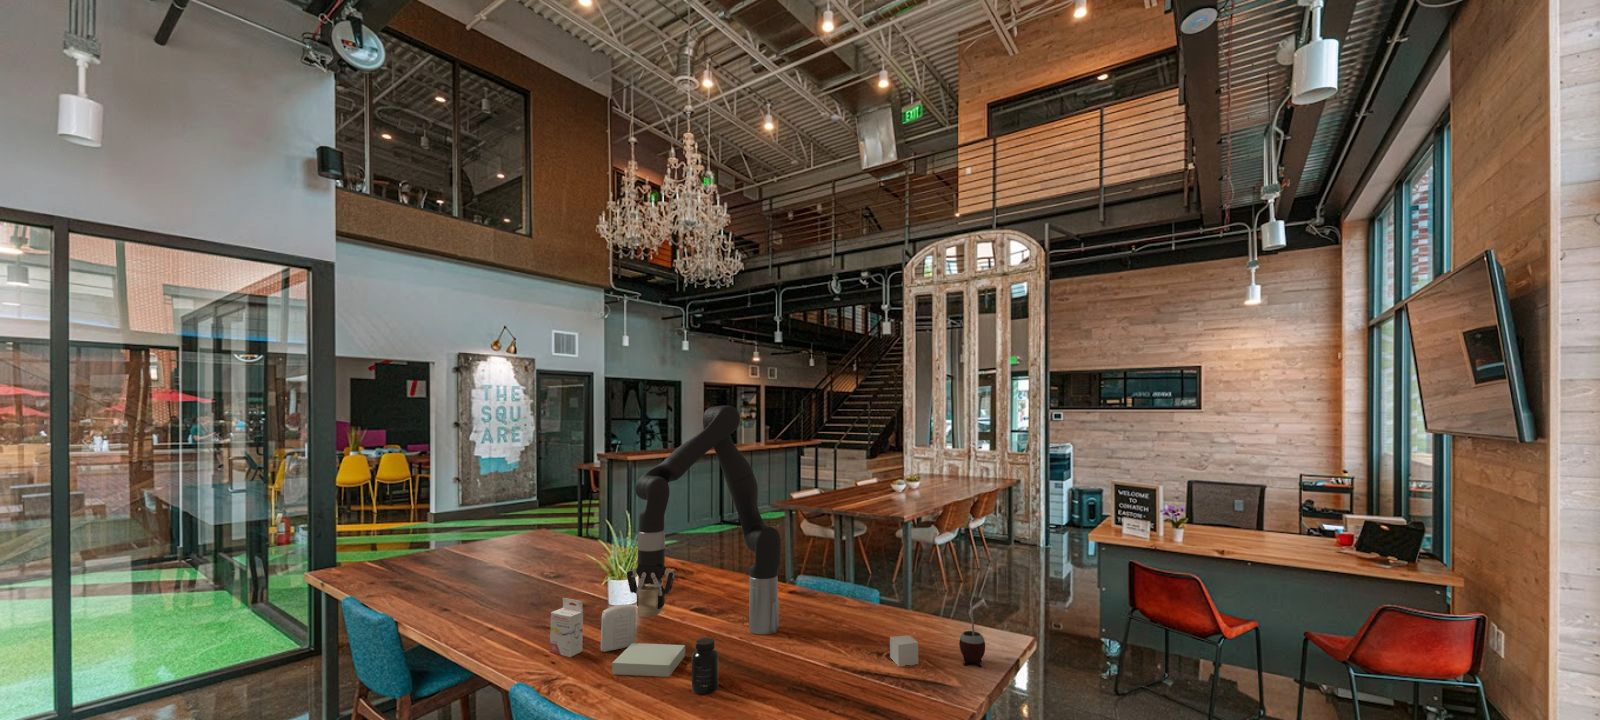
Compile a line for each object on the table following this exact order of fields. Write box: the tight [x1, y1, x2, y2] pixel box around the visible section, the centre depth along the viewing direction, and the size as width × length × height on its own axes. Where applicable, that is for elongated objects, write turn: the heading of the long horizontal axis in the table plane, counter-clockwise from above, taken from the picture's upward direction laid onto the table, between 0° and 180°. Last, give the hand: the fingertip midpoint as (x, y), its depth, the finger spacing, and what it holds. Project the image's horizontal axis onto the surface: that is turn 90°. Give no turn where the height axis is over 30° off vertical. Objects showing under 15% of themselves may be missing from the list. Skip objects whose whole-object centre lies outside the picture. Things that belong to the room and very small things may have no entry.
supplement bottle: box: [691, 637, 719, 695], centre depth 159 cm, size 7×7×12 cm
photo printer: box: [600, 603, 637, 653], centre depth 187 cm, size 10×4×12 cm, turn 123°
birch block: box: [637, 584, 664, 618], centre depth 175 cm, size 5×6×7 cm
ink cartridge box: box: [549, 597, 584, 658], centre depth 183 cm, size 9×5×15 cm, turn 65°
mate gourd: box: [958, 601, 986, 669], centre depth 174 cm, size 8×8×15 cm
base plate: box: [611, 642, 686, 678], centre depth 174 cm, size 16×14×3 cm
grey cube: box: [889, 634, 919, 667], centre depth 175 cm, size 6×6×6 cm
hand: (650, 607), depth 175 cm, fingers closed on birch block, 5 cm apart
